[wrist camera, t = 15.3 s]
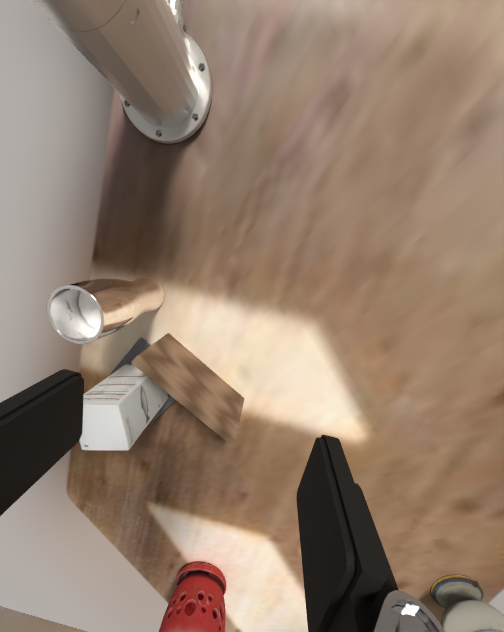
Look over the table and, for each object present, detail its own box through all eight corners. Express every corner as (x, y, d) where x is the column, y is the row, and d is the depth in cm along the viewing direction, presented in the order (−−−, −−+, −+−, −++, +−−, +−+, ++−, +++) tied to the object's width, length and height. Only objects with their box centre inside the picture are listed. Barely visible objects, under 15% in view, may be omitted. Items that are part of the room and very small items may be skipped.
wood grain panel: (164, 337, 42) (130, 362, 32) (168, 333, 41) (135, 356, 32) (239, 402, 44) (229, 444, 34) (244, 398, 43) (235, 439, 34)
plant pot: (193, 597, 59) (173, 681, 47) (168, 560, 56) (141, 639, 45) (241, 589, 56) (232, 676, 45) (217, 550, 54) (202, 631, 42)
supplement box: (169, 398, 44) (129, 453, 32) (132, 398, 45) (79, 451, 33) (163, 361, 42) (118, 405, 30) (124, 362, 43) (65, 405, 31)
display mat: (106, 380, 45) (104, 381, 45) (141, 337, 42) (139, 338, 42) (155, 419, 46) (153, 421, 46) (192, 381, 43) (191, 382, 43)
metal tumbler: (138, 319, 41) (65, 353, 27) (120, 281, 40) (32, 296, 25) (173, 305, 40) (116, 334, 26) (155, 266, 39) (84, 273, 24)
